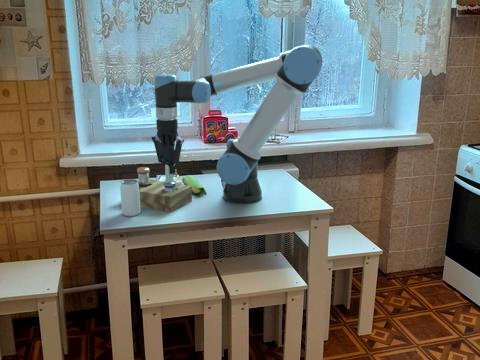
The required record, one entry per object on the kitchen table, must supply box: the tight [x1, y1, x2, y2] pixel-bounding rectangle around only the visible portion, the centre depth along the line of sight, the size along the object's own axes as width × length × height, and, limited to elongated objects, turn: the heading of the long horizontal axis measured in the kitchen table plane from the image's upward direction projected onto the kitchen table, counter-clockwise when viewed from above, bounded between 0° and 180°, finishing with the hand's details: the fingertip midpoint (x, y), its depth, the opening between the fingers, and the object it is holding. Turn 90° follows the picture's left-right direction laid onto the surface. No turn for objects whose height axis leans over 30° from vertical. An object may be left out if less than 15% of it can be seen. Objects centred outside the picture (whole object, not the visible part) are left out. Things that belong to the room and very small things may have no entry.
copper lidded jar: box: [136, 166, 151, 188], centre depth 194 cm, size 5×5×8 cm
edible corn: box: [181, 174, 207, 197], centre depth 206 cm, size 5×20×5 cm
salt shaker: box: [163, 180, 177, 192], centre depth 189 cm, size 5×5×8 cm
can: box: [119, 178, 141, 217], centre depth 180 cm, size 6×6×12 cm
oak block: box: [137, 178, 193, 213], centre depth 192 cm, size 22×14×6 cm, turn 62°
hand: (169, 181), depth 188 cm, fingers closed
